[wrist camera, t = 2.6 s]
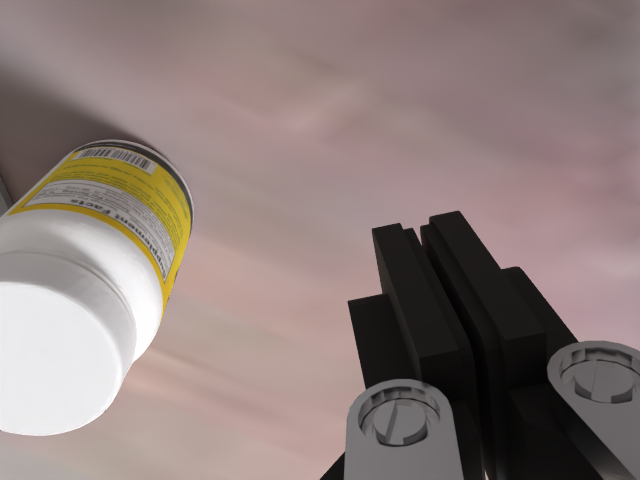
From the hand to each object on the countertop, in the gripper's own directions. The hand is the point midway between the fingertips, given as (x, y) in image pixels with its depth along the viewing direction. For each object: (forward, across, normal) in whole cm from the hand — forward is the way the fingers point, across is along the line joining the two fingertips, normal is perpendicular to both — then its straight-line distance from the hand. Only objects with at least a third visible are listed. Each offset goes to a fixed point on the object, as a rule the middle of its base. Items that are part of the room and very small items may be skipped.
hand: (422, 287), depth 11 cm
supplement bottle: (+9, +8, 0) cm, 12 cm away
